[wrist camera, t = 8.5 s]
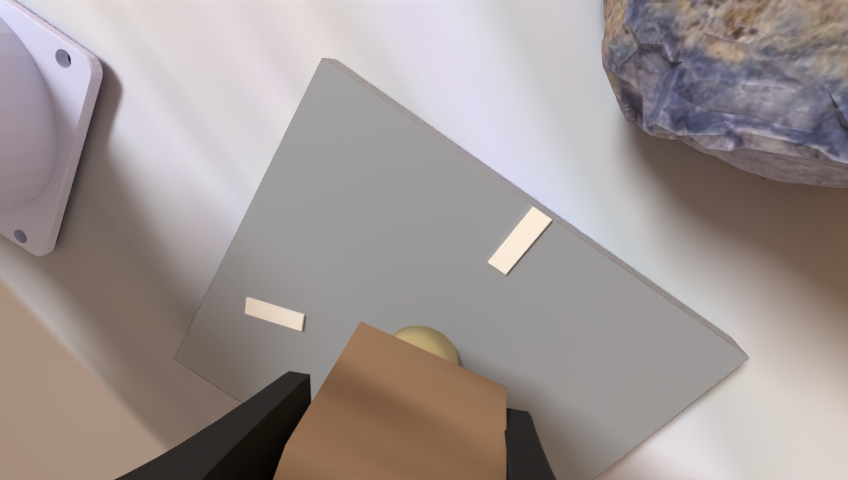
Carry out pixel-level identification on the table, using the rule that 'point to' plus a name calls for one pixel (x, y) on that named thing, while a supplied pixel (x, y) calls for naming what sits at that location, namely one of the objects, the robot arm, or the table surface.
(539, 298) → the plate
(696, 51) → the rock
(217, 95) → the table surface
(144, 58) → the table surface
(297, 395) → the robot arm
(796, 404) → the table surface
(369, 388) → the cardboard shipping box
